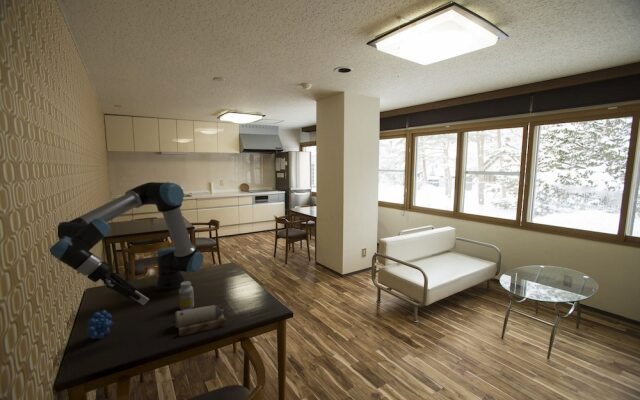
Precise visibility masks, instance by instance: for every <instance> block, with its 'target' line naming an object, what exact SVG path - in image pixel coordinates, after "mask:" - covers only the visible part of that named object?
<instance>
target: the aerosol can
mask: <svg viewBox="0 0 640 400" xmlns="http://www.w3.org/2000/svg"><path fill="white" fill-rule="evenodd" d="M224 313H225V309H223V308H222V310H221V309H220V308H219V307H217V305H216V304H212V305H208V306H207V305H206V306H201V307H195V308H194V307H193V308H191V309H188V310H176V311H175V313H174V325H175V326H174V327H175V329H177V328H178V329H179V328H180V327H185V326H190V325H194V324H199V323H203V322H208V321H213V320H217V319H218V318H219V317H220V316H221V314H223V315H224Z"/></svg>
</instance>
